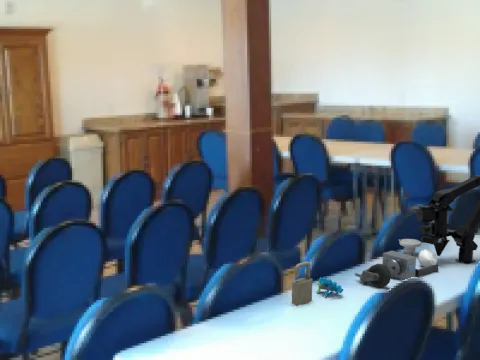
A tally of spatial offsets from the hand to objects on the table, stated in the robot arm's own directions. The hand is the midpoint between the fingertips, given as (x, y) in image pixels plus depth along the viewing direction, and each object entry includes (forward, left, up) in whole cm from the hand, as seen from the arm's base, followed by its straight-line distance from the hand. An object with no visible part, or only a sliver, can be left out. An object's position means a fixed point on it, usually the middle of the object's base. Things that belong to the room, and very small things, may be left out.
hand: (438, 255), depth 299 cm
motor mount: (+22, 0, -3) cm, 22 cm away
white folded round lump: (+8, 0, -4) cm, 9 cm away
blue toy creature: (+66, -3, -4) cm, 67 cm away
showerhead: (-1, -16, -4) cm, 17 cm away
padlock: (+80, -4, -4) cm, 80 cm away
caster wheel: (+45, 0, -4) cm, 45 cm away
